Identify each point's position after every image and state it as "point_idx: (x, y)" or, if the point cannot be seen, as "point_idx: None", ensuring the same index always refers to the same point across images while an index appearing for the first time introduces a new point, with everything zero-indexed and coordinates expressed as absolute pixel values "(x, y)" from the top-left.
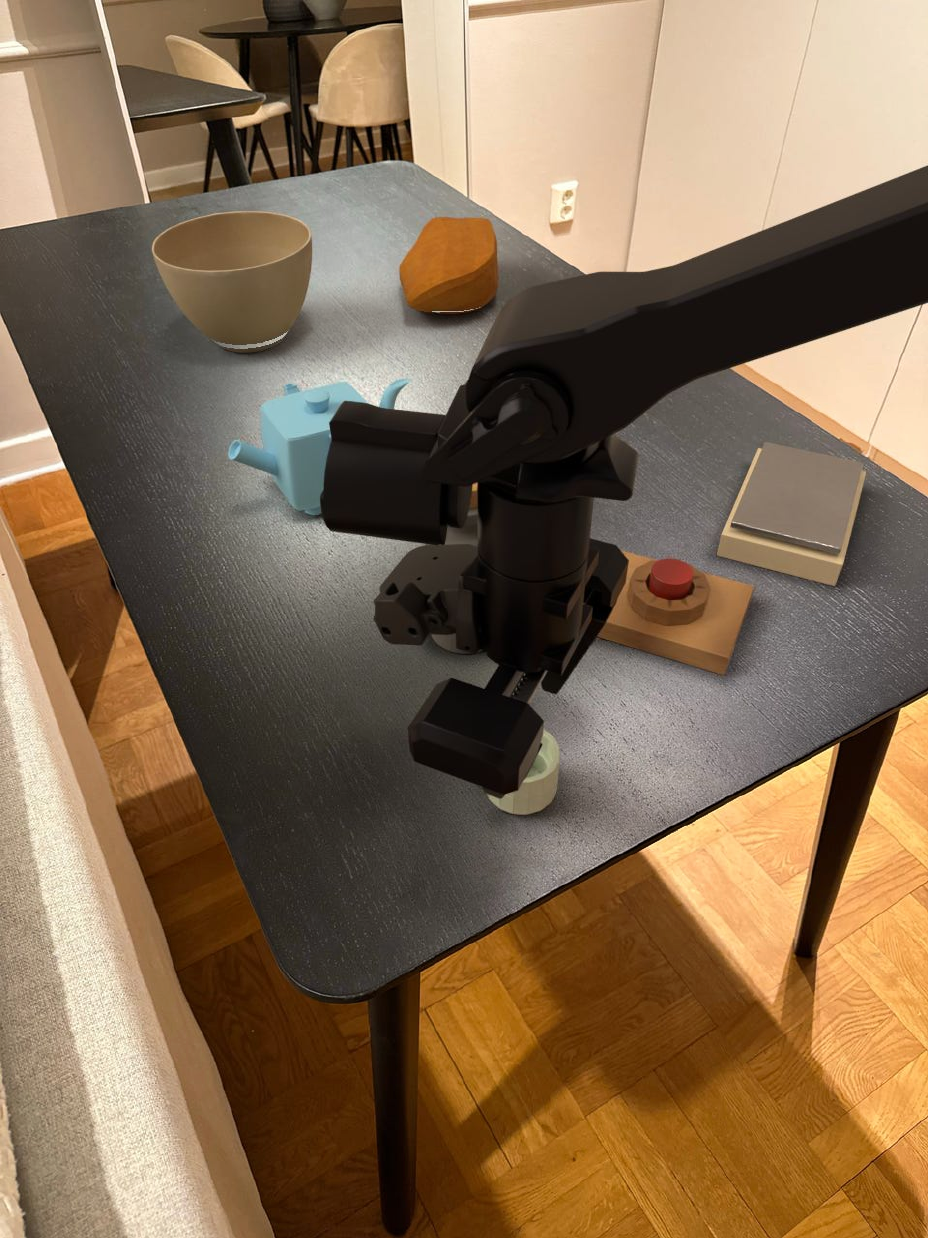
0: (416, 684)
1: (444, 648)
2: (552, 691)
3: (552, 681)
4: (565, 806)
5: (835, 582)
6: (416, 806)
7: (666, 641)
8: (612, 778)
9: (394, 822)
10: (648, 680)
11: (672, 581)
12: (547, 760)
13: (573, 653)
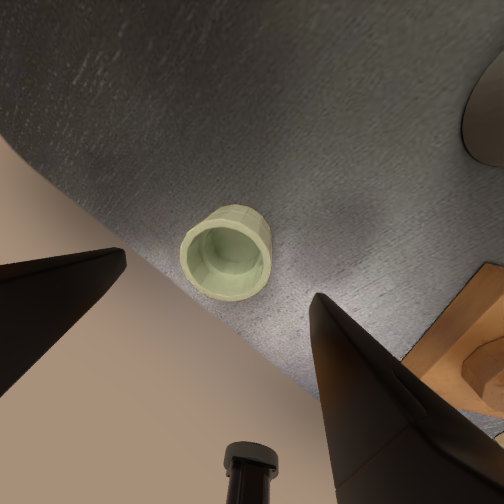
0: (395, 45)
1: (486, 70)
2: (311, 306)
3: (316, 321)
4: None
5: (498, 443)
6: (183, 131)
7: (436, 358)
8: (268, 304)
9: (154, 110)
10: (388, 327)
11: None
12: (248, 273)
13: (332, 423)
